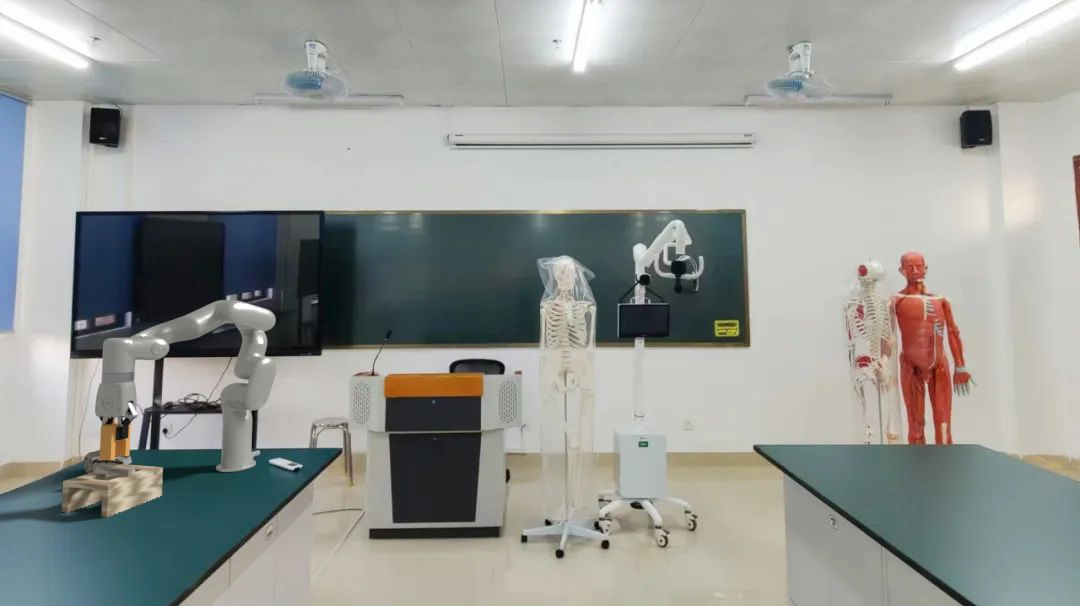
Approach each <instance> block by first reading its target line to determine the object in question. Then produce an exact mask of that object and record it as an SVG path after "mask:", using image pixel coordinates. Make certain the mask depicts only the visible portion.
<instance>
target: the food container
mask: <svg viewBox="0 0 1080 606" xmlns="http://www.w3.org/2000/svg"><path fill="white" fill-rule="evenodd" d="M132 462H133V461H132V457H131V455H130V454H129V456H115V459H114V460H100V456H99V457H94V458H92V460H91V463H90V464H92V473H93V472H95V471H96V467H98V466H101V465H108V466H116V465H120V464H126V465H131V463H132Z"/></svg>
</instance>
